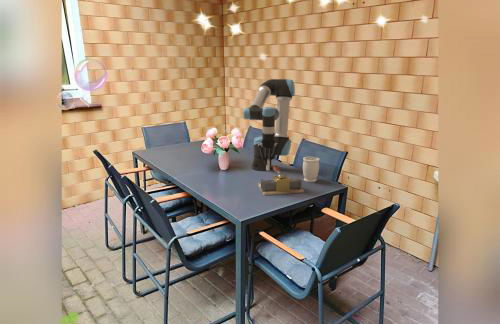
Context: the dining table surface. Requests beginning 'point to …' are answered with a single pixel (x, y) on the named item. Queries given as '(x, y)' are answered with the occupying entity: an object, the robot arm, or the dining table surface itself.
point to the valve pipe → (281, 184)
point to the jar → (310, 168)
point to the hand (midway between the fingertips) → (267, 169)
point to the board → (280, 191)
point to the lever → (278, 171)
